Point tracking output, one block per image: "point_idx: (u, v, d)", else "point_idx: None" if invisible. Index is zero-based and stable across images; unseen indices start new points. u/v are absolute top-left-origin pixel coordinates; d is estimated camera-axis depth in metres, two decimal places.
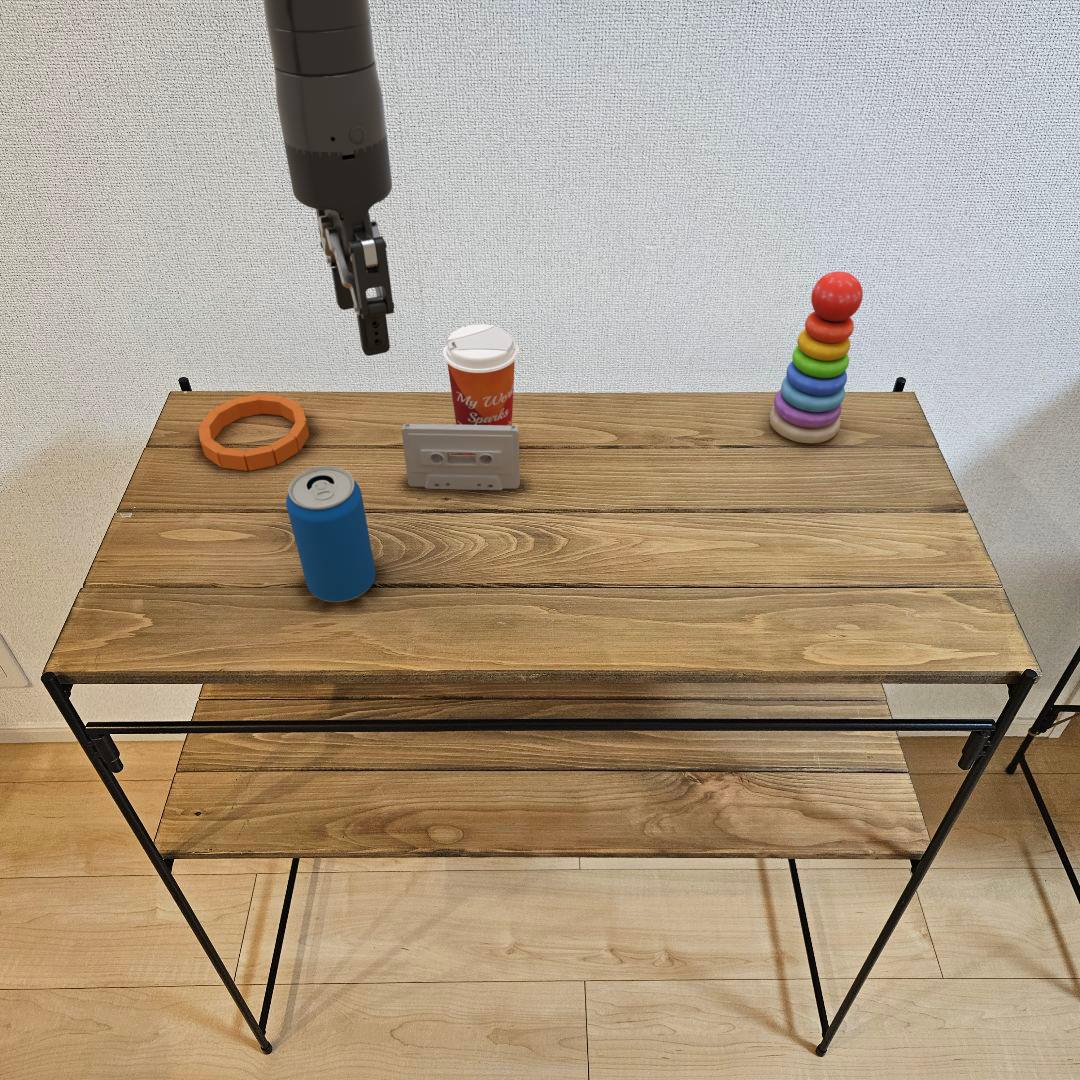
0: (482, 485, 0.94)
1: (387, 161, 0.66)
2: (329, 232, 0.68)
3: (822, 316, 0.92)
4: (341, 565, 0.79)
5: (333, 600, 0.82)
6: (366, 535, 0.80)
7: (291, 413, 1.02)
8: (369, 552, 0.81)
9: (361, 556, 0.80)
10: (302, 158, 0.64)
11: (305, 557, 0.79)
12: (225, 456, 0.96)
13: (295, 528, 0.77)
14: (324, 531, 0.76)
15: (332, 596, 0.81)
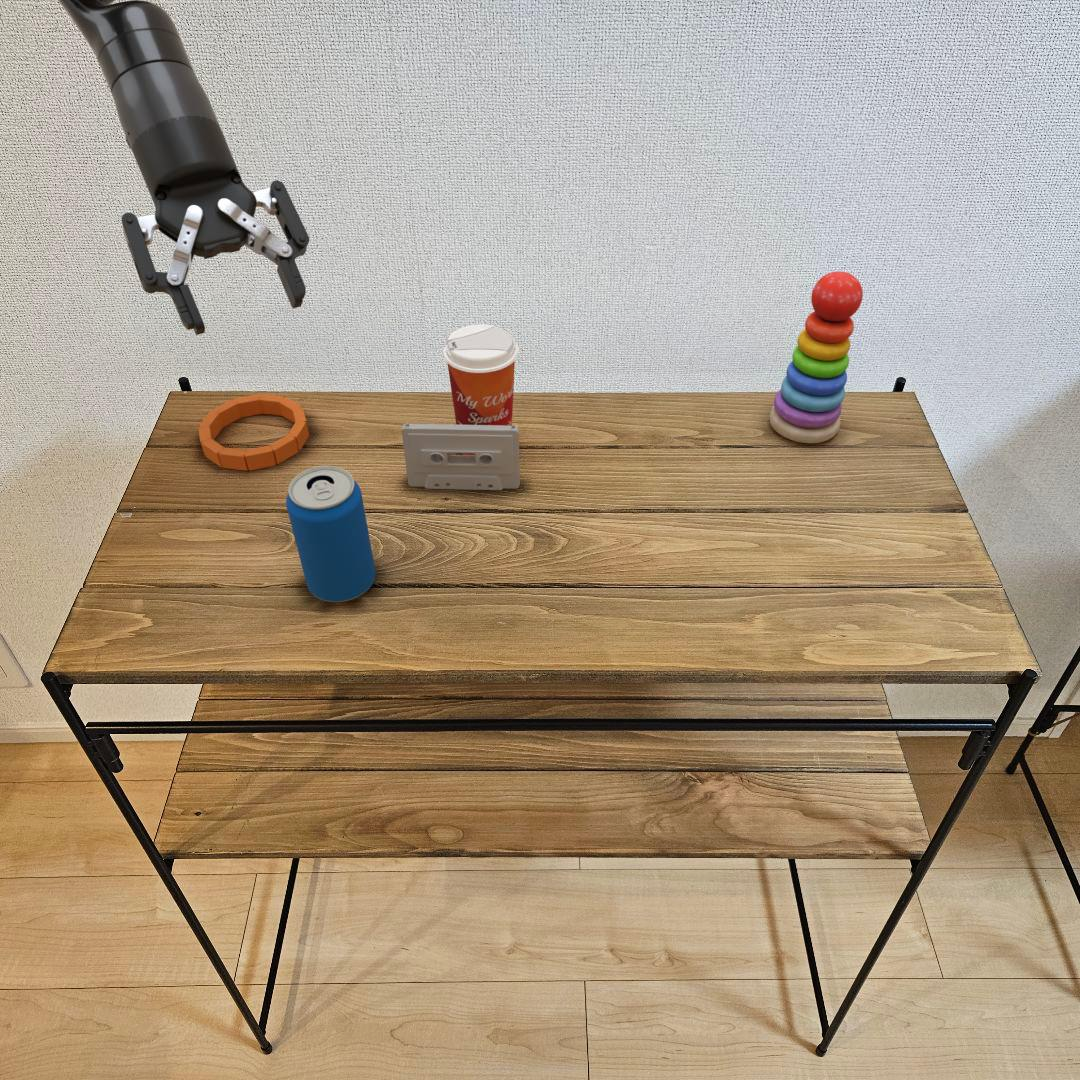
0: (482, 485, 0.94)
1: None
2: (227, 199, 0.74)
3: (822, 316, 0.92)
4: (341, 565, 0.79)
5: (333, 600, 0.82)
6: (366, 535, 0.80)
7: (291, 413, 1.02)
8: (369, 552, 0.81)
9: (361, 556, 0.80)
10: (207, 124, 0.73)
11: (305, 557, 0.79)
12: (225, 456, 0.96)
13: (295, 528, 0.77)
14: (324, 531, 0.76)
15: (332, 596, 0.81)
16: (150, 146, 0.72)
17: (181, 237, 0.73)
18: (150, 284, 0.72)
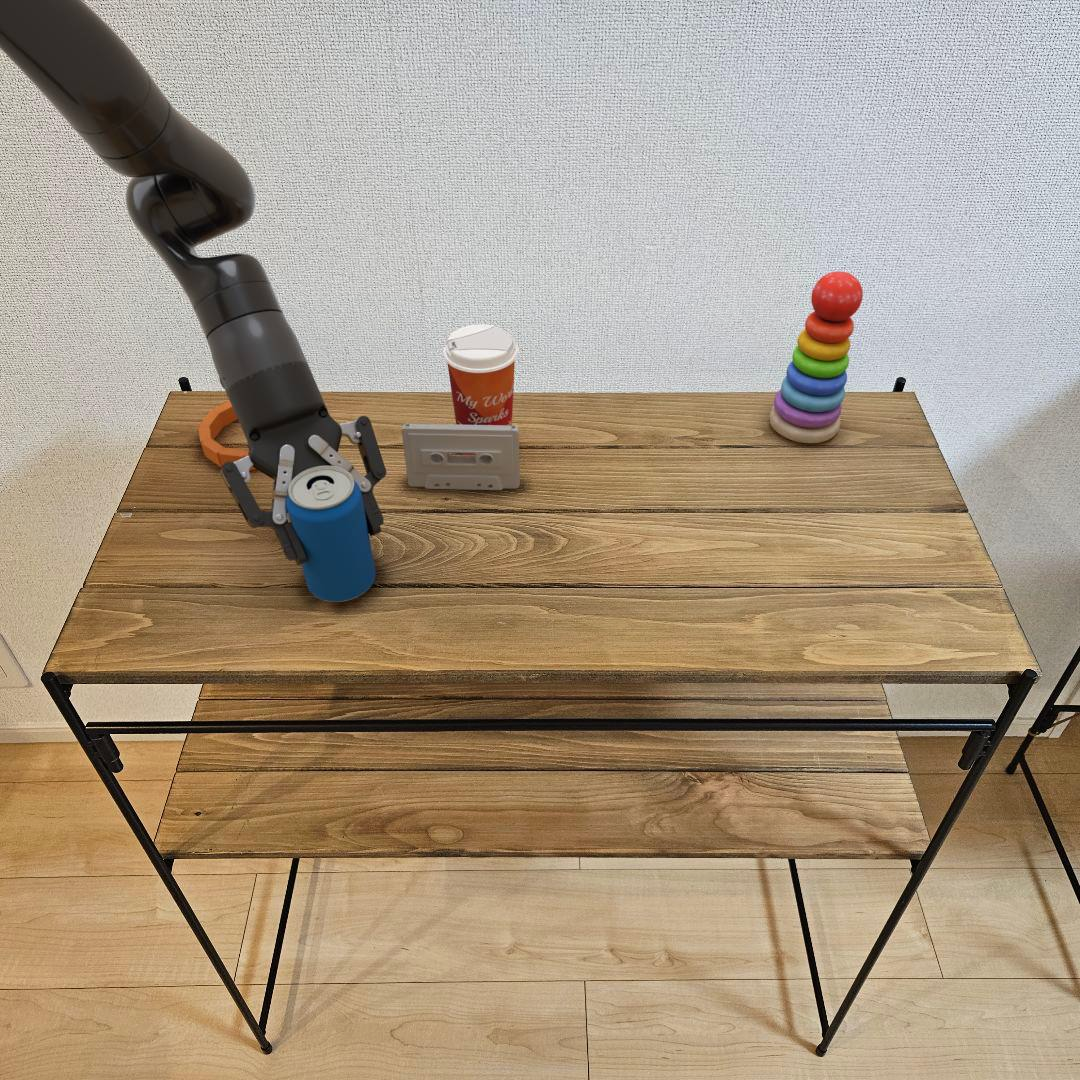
0: (482, 485, 0.94)
1: None
2: (318, 436, 0.78)
3: (822, 316, 0.92)
4: (341, 565, 0.79)
5: (333, 600, 0.82)
6: (366, 535, 0.80)
7: None
8: (369, 552, 0.81)
9: (361, 556, 0.80)
10: (298, 368, 0.77)
11: None
12: (225, 456, 0.96)
13: (295, 528, 0.77)
14: (324, 531, 0.76)
15: (332, 596, 0.81)
16: (246, 394, 0.75)
17: (279, 478, 0.77)
18: (258, 524, 0.76)
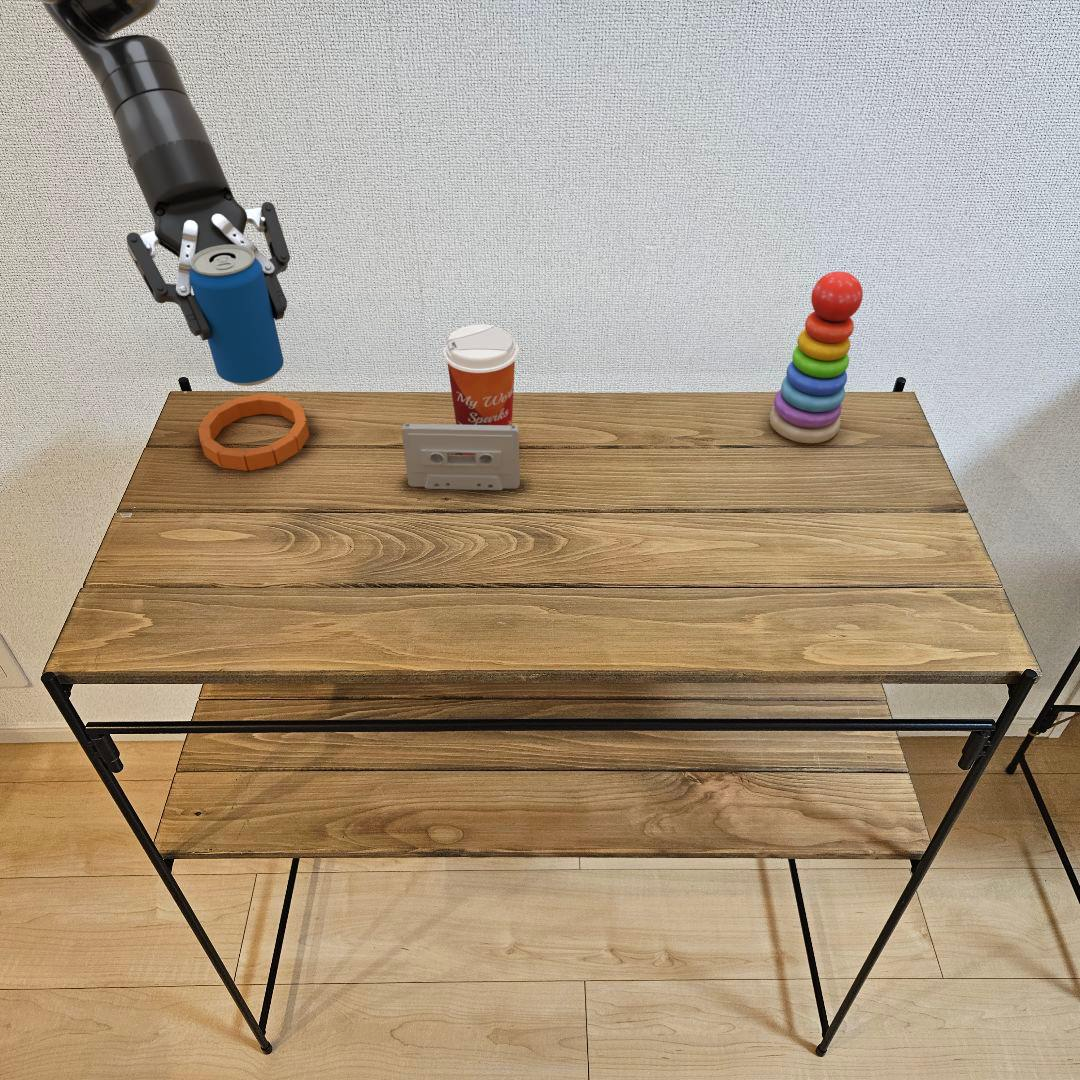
0: (482, 485, 0.94)
1: None
2: (221, 215, 0.82)
3: (822, 316, 0.92)
4: (244, 340, 0.82)
5: (240, 381, 0.85)
6: (269, 315, 0.84)
7: (291, 413, 1.02)
8: (274, 335, 0.85)
9: (265, 335, 0.84)
10: (201, 146, 0.80)
11: None
12: (225, 456, 0.96)
13: (198, 300, 0.80)
14: (224, 299, 0.79)
15: (238, 376, 0.85)
16: (150, 167, 0.79)
17: (183, 251, 0.80)
18: (162, 295, 0.80)
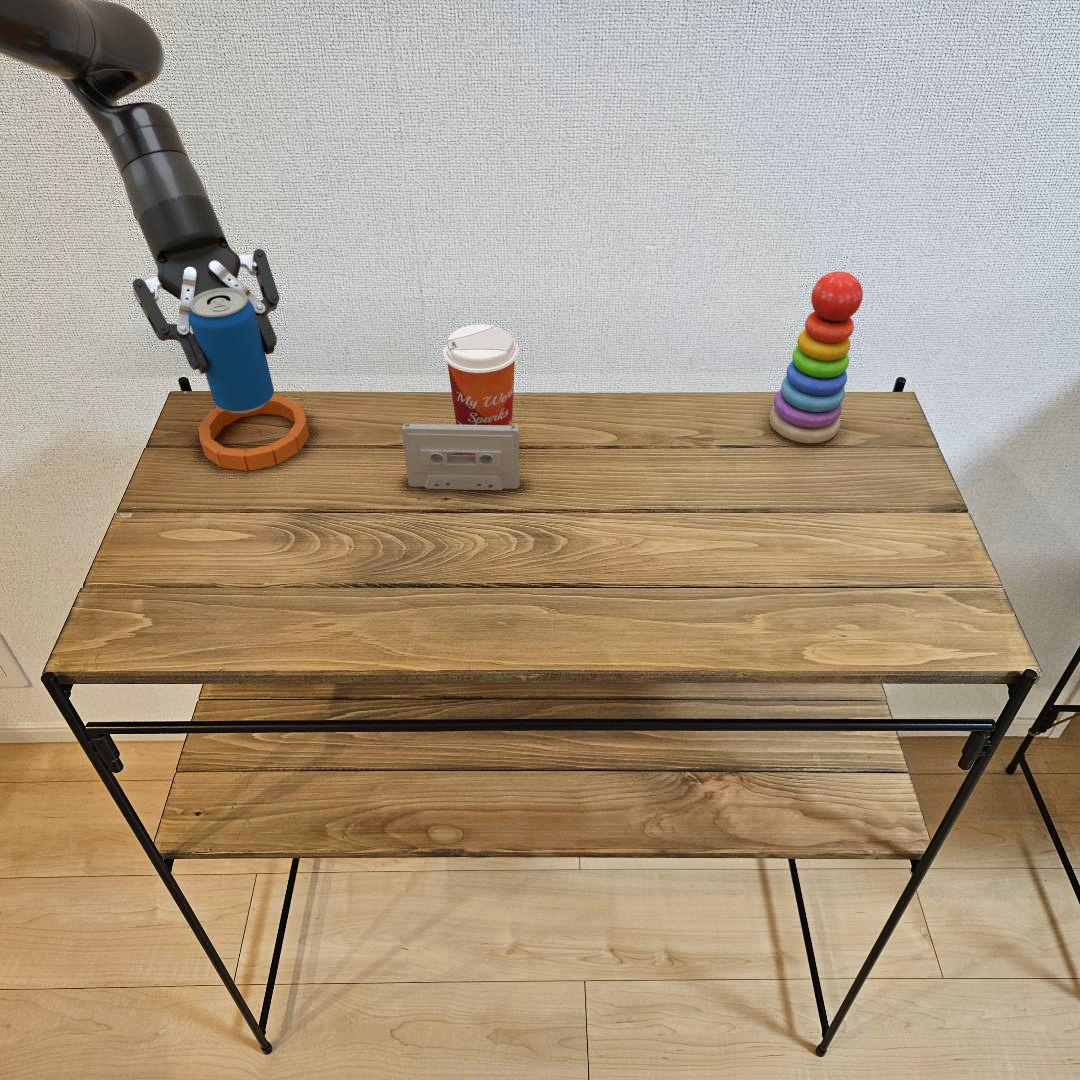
0: (482, 485, 0.94)
1: None
2: (217, 262, 0.91)
3: (822, 316, 0.92)
4: (238, 374, 0.92)
5: (234, 410, 0.95)
6: (261, 350, 0.93)
7: (291, 413, 1.02)
8: (265, 368, 0.94)
9: (257, 368, 0.93)
10: (199, 201, 0.90)
11: None
12: (225, 456, 0.96)
13: (196, 338, 0.90)
14: (220, 338, 0.89)
15: (232, 405, 0.94)
16: (154, 220, 0.88)
17: (183, 295, 0.90)
18: (164, 334, 0.89)
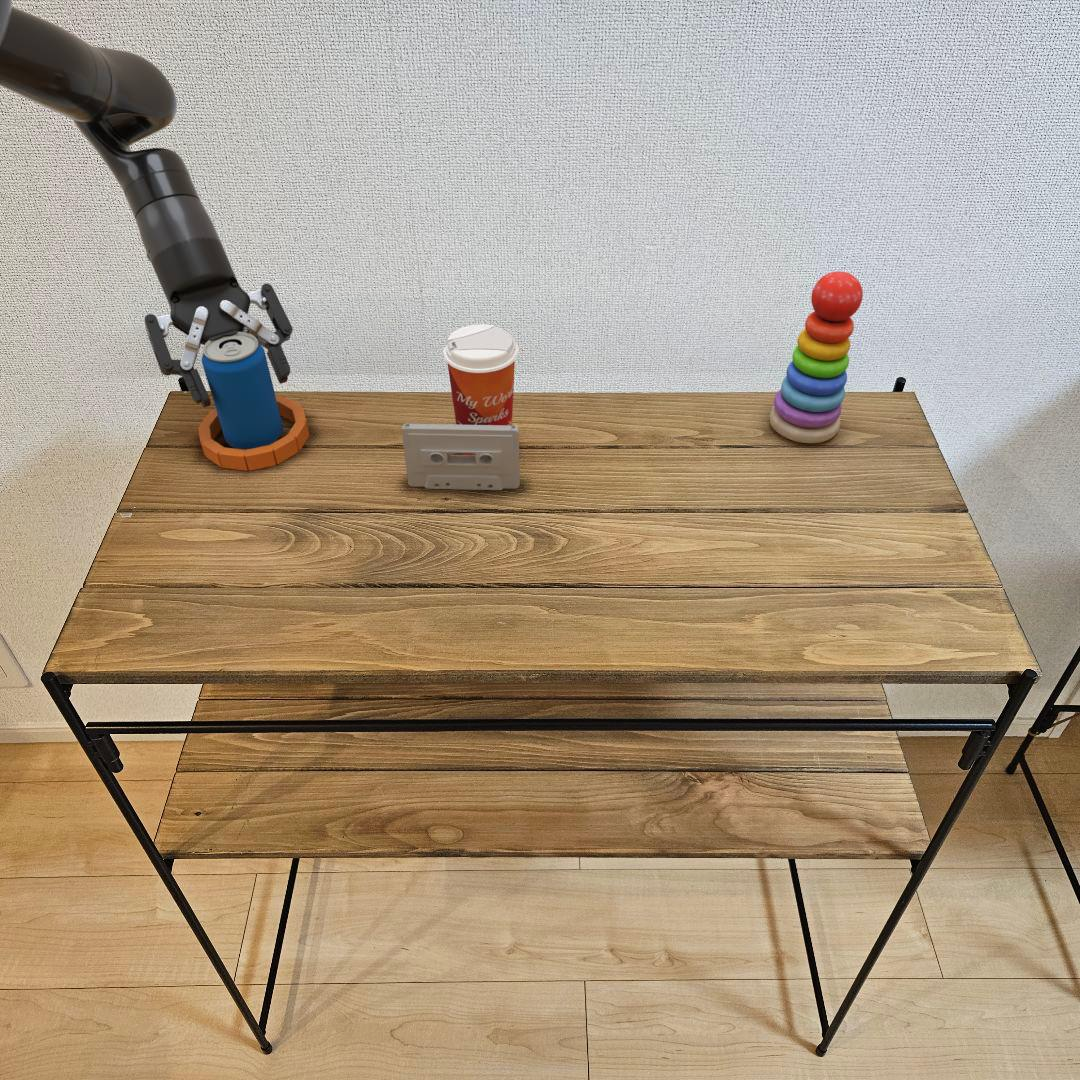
0: (482, 485, 0.94)
1: None
2: (227, 301, 0.94)
3: (822, 316, 0.92)
4: (249, 414, 0.95)
5: (245, 448, 0.98)
6: (271, 391, 0.96)
7: (291, 413, 1.02)
8: (275, 407, 0.98)
9: (267, 408, 0.96)
10: (211, 243, 0.93)
11: (219, 407, 0.95)
12: (225, 456, 0.96)
13: (209, 381, 0.93)
14: (232, 381, 0.92)
15: (243, 443, 0.98)
16: (167, 262, 0.91)
17: (191, 332, 0.92)
18: (167, 369, 0.92)
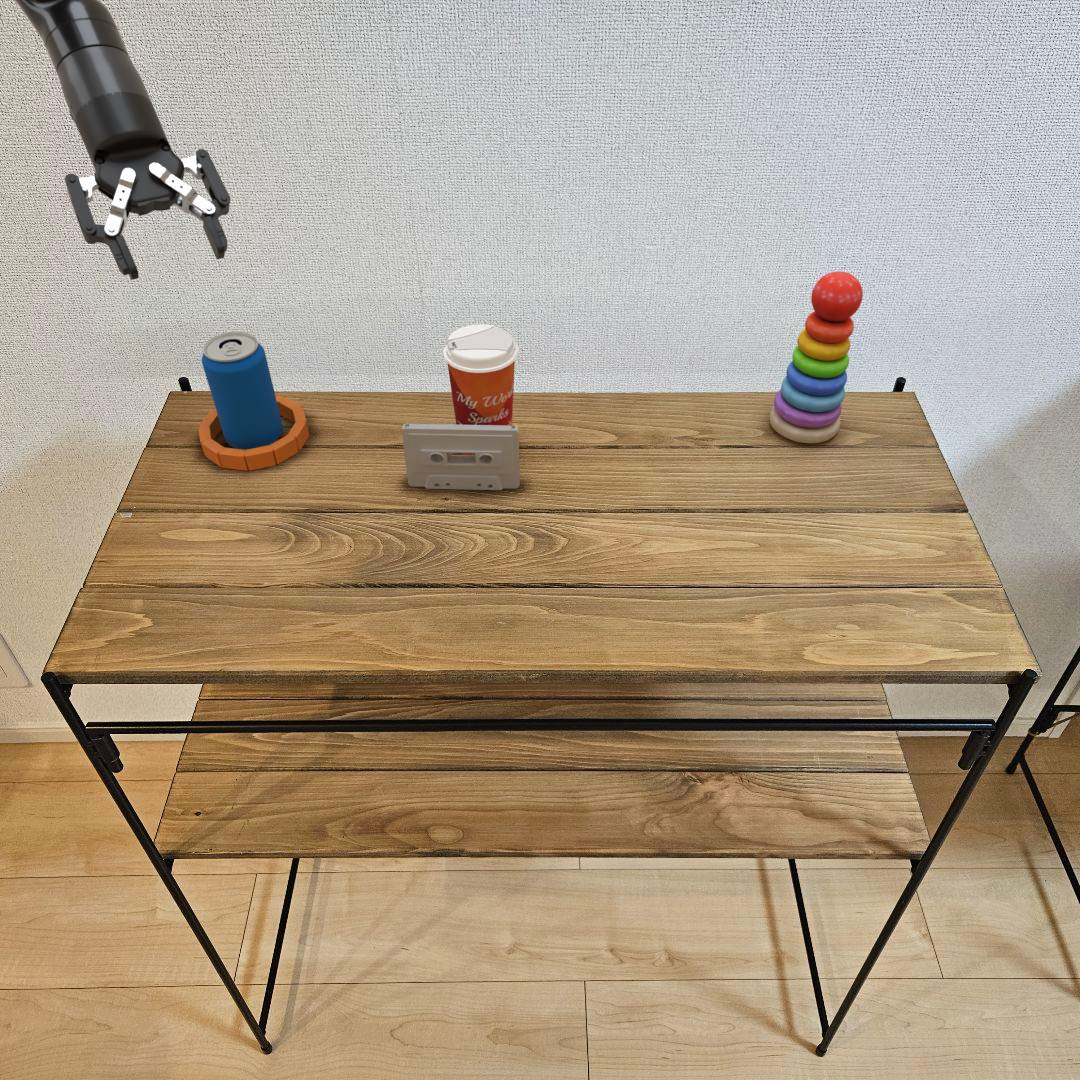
0: (482, 485, 0.94)
1: None
2: (157, 163, 0.87)
3: (822, 316, 0.92)
4: (249, 414, 0.95)
5: (245, 448, 0.98)
6: (271, 391, 0.96)
7: (291, 413, 1.02)
8: (275, 407, 0.98)
9: (267, 408, 0.96)
10: (139, 99, 0.86)
11: (219, 407, 0.95)
12: (225, 456, 0.96)
13: (209, 381, 0.93)
14: (232, 381, 0.92)
15: (243, 443, 0.98)
16: (89, 117, 0.84)
17: (117, 195, 0.85)
18: (90, 234, 0.85)
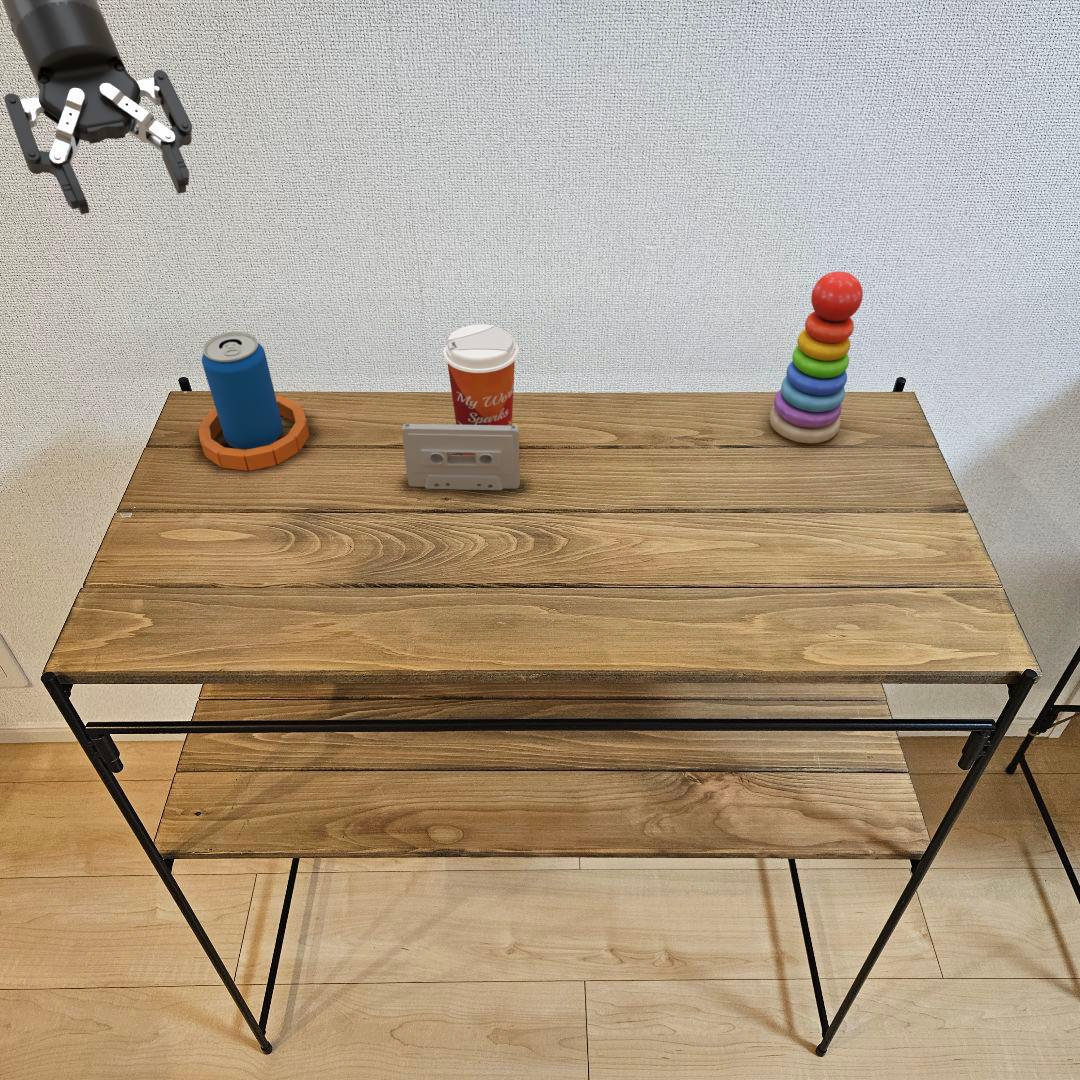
0: (482, 485, 0.94)
1: None
2: (109, 84, 0.78)
3: (822, 316, 0.92)
4: (249, 414, 0.95)
5: (245, 448, 0.98)
6: (271, 391, 0.96)
7: (291, 413, 1.02)
8: (275, 407, 0.98)
9: (267, 408, 0.96)
10: (87, 11, 0.77)
11: (219, 407, 0.95)
12: (225, 456, 0.96)
13: (209, 381, 0.93)
14: (232, 381, 0.92)
15: (243, 443, 0.98)
16: (31, 30, 0.75)
17: (63, 118, 0.76)
18: (33, 162, 0.76)
